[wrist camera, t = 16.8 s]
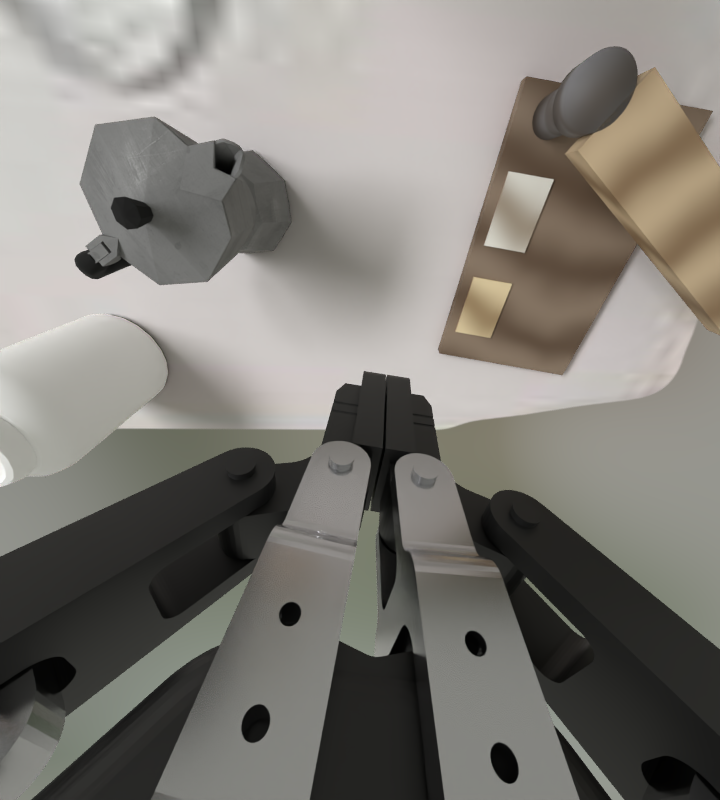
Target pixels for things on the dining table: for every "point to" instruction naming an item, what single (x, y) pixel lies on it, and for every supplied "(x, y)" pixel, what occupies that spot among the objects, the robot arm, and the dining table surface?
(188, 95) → the dining table surface
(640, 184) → the swing arm
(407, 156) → the dining table surface
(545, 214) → the label board
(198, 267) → the coffeepot
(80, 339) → the white jar
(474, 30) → the dining table surface
